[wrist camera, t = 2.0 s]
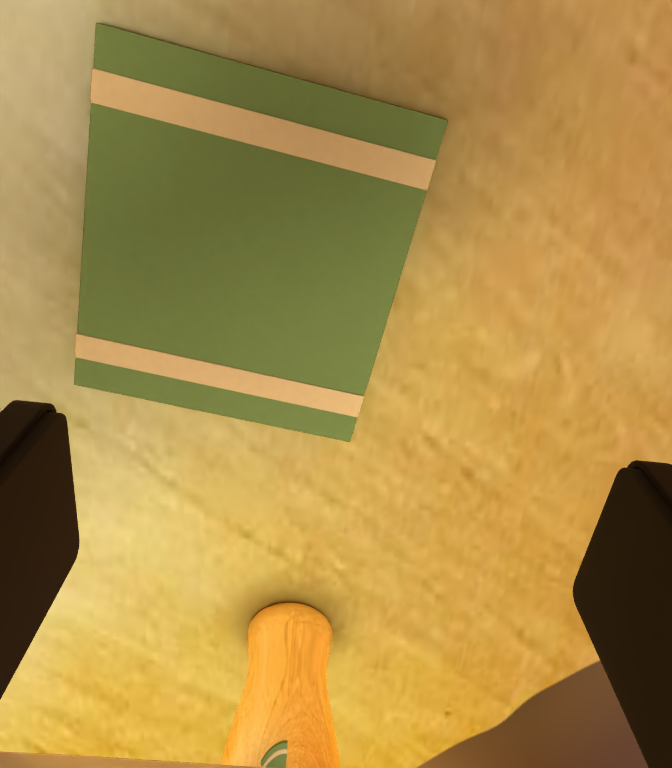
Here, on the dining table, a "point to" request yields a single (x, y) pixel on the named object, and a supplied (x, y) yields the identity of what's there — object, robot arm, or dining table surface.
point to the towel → (241, 234)
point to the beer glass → (285, 693)
